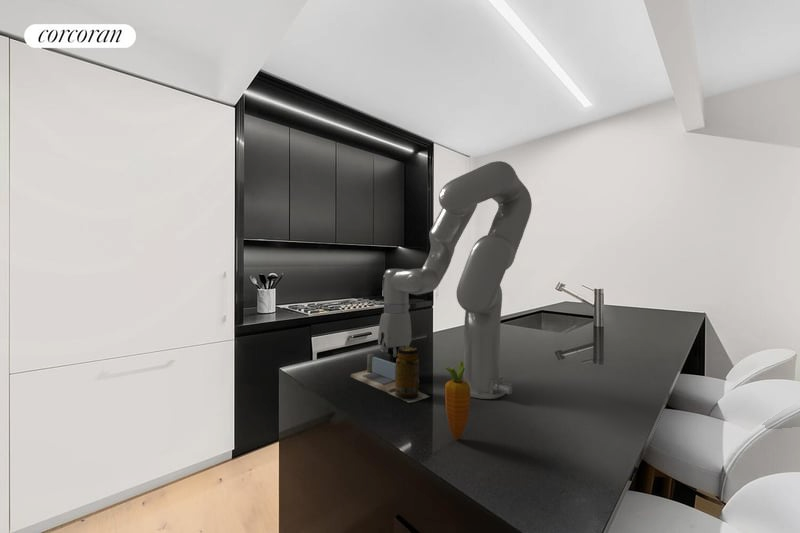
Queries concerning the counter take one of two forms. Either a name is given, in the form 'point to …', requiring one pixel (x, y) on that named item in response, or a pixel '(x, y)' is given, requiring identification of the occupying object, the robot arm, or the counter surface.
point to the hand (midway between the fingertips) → (395, 368)
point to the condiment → (407, 375)
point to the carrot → (457, 401)
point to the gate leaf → (384, 368)
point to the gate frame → (375, 378)
